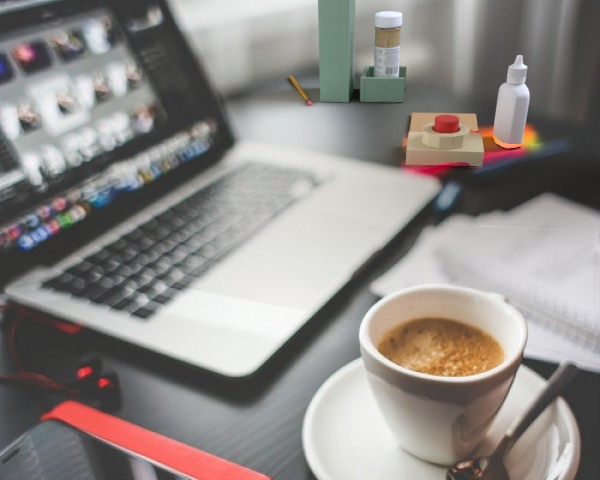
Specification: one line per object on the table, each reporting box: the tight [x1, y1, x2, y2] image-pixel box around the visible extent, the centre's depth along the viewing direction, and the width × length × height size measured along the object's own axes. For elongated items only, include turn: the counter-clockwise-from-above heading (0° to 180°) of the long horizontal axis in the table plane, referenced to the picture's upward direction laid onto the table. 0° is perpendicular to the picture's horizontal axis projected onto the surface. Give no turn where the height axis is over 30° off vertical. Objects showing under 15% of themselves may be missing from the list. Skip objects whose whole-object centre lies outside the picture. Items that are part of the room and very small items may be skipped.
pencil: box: [289, 75, 313, 106], centre depth 115 cm, size 19×1×1 cm, turn 12°
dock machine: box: [317, 0, 408, 103], centre depth 106 cm, size 14×9×19 cm, turn 79°
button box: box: [405, 122, 485, 167], centre depth 85 cm, size 10×7×4 cm
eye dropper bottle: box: [492, 54, 531, 145], centre depth 86 cm, size 4×6×12 cm
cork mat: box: [409, 112, 479, 132], centre depth 96 cm, size 10×10×1 cm
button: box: [434, 115, 459, 133], centre depth 84 cm, size 3×3×2 cm
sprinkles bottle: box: [373, 10, 403, 77], centre depth 107 cm, size 5×5×14 cm
